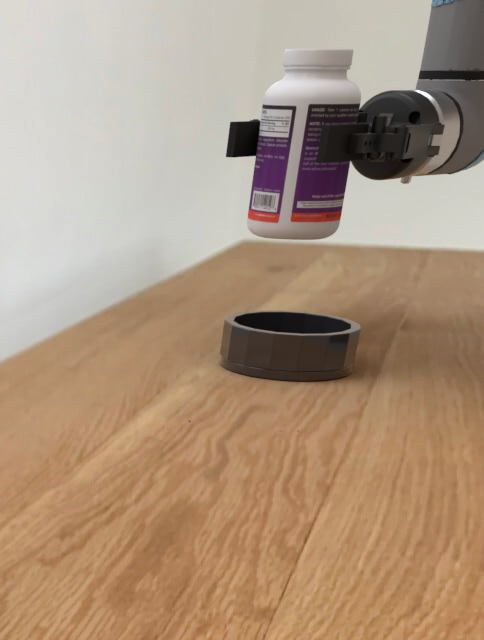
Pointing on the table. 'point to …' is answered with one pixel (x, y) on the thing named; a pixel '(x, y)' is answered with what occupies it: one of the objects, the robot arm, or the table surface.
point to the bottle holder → (289, 345)
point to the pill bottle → (302, 147)
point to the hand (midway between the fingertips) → (276, 141)
